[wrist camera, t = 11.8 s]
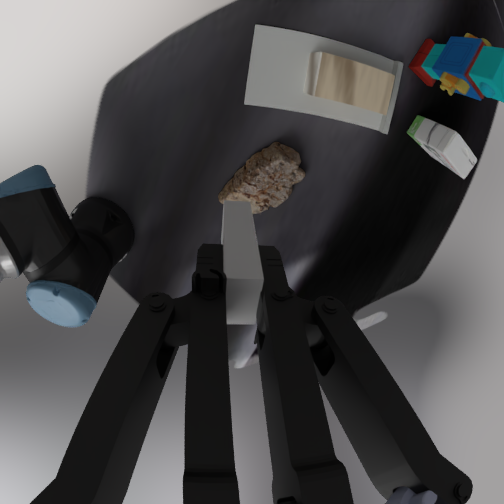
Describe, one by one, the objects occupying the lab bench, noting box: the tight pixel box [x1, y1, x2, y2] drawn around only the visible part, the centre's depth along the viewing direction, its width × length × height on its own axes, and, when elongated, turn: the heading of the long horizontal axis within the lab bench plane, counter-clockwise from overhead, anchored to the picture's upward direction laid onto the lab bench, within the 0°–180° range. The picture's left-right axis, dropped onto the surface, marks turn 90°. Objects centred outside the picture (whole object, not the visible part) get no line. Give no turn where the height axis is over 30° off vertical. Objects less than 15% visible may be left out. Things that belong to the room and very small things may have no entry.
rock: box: [218, 142, 305, 214], centre depth 47 cm, size 15×10×6 cm
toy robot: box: [408, 33, 504, 102], centre depth 24 cm, size 12×6×25 cm, turn 151°
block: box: [303, 52, 395, 115], centre depth 35 cm, size 6×7×12 cm
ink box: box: [407, 115, 477, 179], centre depth 39 cm, size 9×5×12 cm, turn 62°
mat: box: [244, 25, 403, 134], centre depth 37 cm, size 25×14×2 cm, turn 83°
